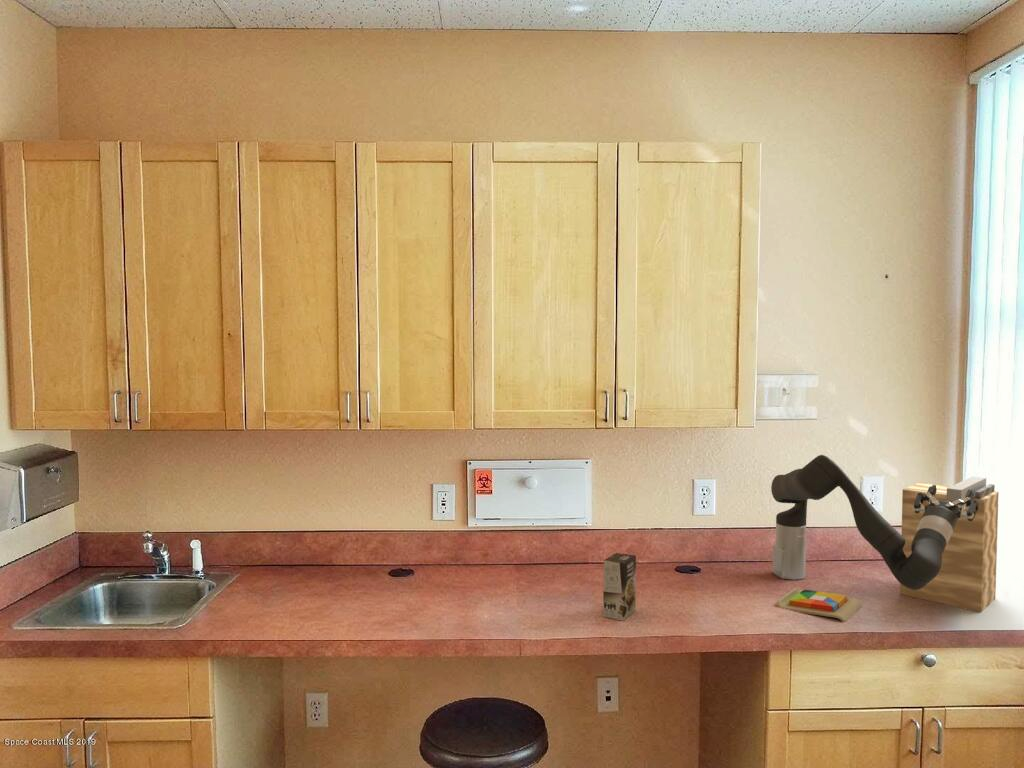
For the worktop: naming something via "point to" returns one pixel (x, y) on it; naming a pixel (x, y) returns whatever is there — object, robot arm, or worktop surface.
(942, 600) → the maple block
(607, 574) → the coffee box
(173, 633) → the worktop surface
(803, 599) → the wooden puzzle
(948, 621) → the worktop surface
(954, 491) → the light gray bar
